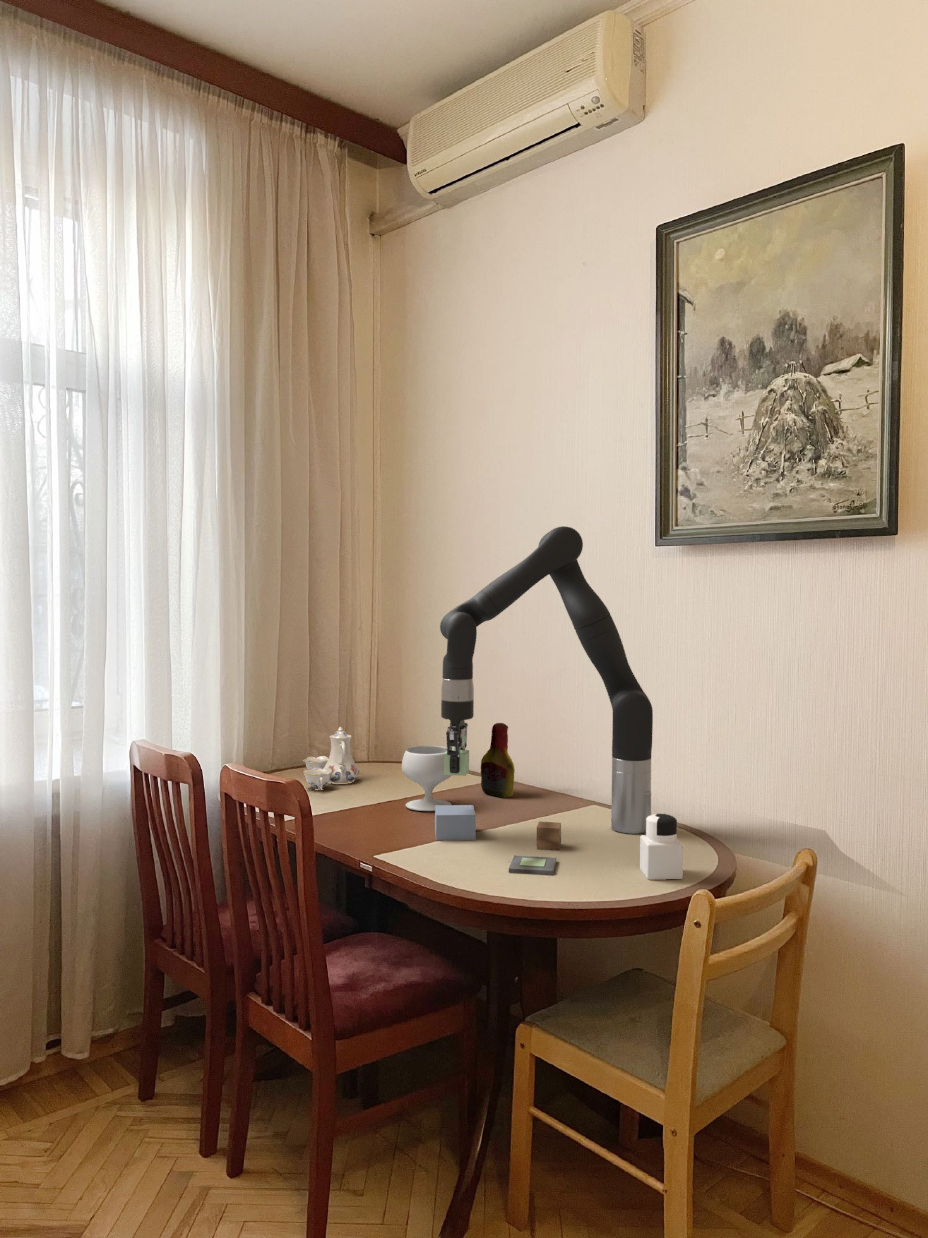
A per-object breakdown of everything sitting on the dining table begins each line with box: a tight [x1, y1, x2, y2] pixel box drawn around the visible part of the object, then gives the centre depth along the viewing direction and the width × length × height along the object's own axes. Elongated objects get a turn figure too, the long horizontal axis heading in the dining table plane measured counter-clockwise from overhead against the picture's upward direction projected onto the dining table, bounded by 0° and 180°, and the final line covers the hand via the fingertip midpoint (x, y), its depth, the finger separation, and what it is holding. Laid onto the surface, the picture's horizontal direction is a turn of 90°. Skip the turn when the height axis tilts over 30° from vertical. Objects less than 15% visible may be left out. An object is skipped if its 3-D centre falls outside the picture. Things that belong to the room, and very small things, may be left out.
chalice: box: [401, 745, 453, 812], centre depth 243 cm, size 14×14×15 cm
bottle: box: [480, 722, 516, 799], centre depth 256 cm, size 12×6×20 cm, turn 36°
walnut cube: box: [536, 821, 562, 852], centre depth 208 cm, size 5×5×5 cm
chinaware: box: [302, 726, 360, 791], centre depth 272 cm, size 28×17×17 cm, turn 14°
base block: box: [434, 804, 477, 841], centre depth 217 cm, size 9×9×6 cm
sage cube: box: [444, 748, 470, 777], centre depth 217 cm, size 5×5×5 cm
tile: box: [508, 854, 557, 876], centre depth 193 cm, size 9×9×1 cm
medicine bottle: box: [639, 813, 684, 881], centre depth 189 cm, size 7×7×12 cm
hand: (456, 770), depth 217 cm, fingers closed on sage cube, 5 cm apart
